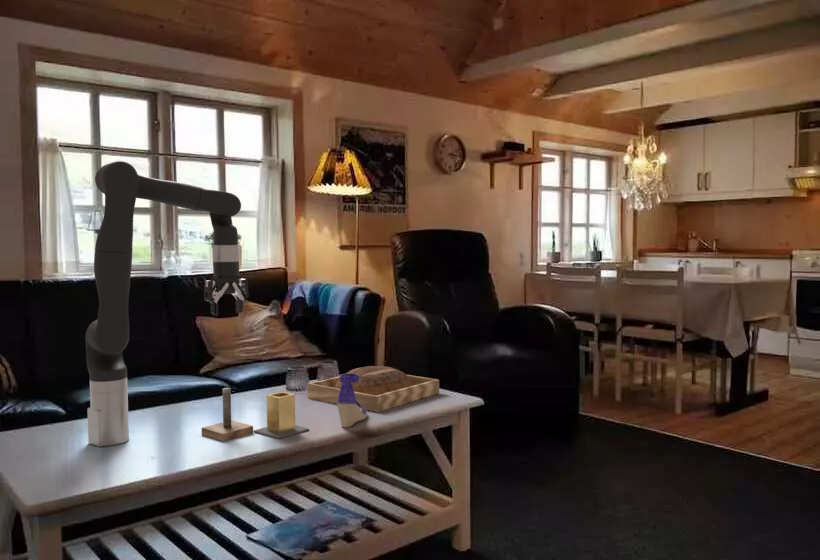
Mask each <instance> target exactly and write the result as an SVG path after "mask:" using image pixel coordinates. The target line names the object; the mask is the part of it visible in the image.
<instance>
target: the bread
mask: <svg viewBox="0 0 820 560" xmlns="http://www.w3.org/2000/svg"><path fill="white" fill-rule="evenodd" d="M344 374H357V375H358V374H359V380H358V382H357V383H355V382H353V383H351V384H352V387H353V390H354V392H359V393H365V394H370V395H375V396H377V395H380V394H384V393H388V392H392V391H395V390H399V389H403V388H407V387H410V386H412V383H411V380H410V378H409V377H408V376H407V375H408V374H406V373H405V372H404V371H401V370H400V369H398V368H395V367H391V366H384V365H378V366H377V365H376V366H375V365H367V366H363V367H358V368H353V369H351V370H349V371H347V372H345V373H344ZM341 384H342V382H340V379H339V380H338V382H337V383H336V386H335V388H338V389H340V388H341Z"/></svg>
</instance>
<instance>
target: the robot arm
mask: <svg viewBox="0 0 820 560" xmlns="http://www.w3.org/2000/svg"><path fill="white" fill-rule="evenodd" d="M94 184H95V186H96V187H97V189H98V190H99V191H100V192H101V193H102V194H104V211H103V212H104V213H103V216H102V222H101V225H100V227H99V230H98V233H97V237H96V241H95V245H94V246H95V247H94V260H93V269H94V270H93V273H94V279H95V285H96V290H97V295H98V311H97V319H96V320H94V321H92V322H91V323H90V324H89V325H88V327H87V329H86V332H85V354H86V355H85V357H86V367H87V370H88V374H89V400H90V402H89V403H90V407H88V408H87V409H86V410H87V411H86V412H87V435H88V436H87V437H88V438H87V439H88V444H90V445H93V446H95V447H99V448H100V447H107V446H115V445H121V444H123V443H126V442H127V441H129V440H130V434H129V433H130V431H129V430H130V429H129V428H130V427H129V399H128V397H129V396H128V395H129V393H128V390H129V389H128V367H127V365H126V364H125V361H124V359H123V358H124V356H123V351H124V350H125V349H126V348H127V346H128V344H129V342H130V341H129V340H130V333H131V332H130V318H129V317H130V316H129V297H130V290H131V289H130V288H131V277H132V276H131V275H132V274H131V273H132V264H133V263H132V262H133V242H134V240H133V239H134V216H135V215H134V212H135V206H136V200H137V199H141V200H142V199H143V200H146V201H147V200H148V201H152V202H153V201H154V202H158V203H161V204H165V205H170V206H172V207H173V206H174V207H178V208H181V209H187V210H190V211H196V212H208V213H209V218H210V221H211V222H210V223H211V226H212V230H213V251H212V259H213V260H212V262H213V264H212V265H213V266H212V267H213V269H212V270H213V277H214V279H213V280H204V289H203V290H204V292H203V299H204V301H205V302H206V301H207V302H209V304H210V313H211V315H212V316H218V315H219V303H218V301H219V300H220V298H221V297H223V295H228V294H229V295H232V296H233V297H234V298H235V313H236V314H242V313H243V311H244V300H245V299H248V298H249V297H250V295H249V294H250V293H249V281H248V280H249V279H248V278H240V279H239V275H240V251H239V250H240V249H239V240H238V239H239V237H238V234H239V233H238V229H237V227H236V226H234V225H233V218H232V217H234V216H237V215H238V214H239V212H240V211H241V209H242V202H241V200H240V198H239V197H238V196H237V195H236V194H234V193H231V192H228V191H222V190H216V189H208V188H204V187H201V186H197V185H194V184H193V185H192V184H189V183H185V182H179V181H173V180H167V179H165V180H163V179H157V178H152V177H148V176H143V175H140V174H138V172H137V170H136V168H135V167H134V165H132V164H131V163H129V162H127V161H122V160H117V161H112V162H110V163H107V164H104V165H103V166H101V167H100V168H98V170H97V171H96V173H95V176H94ZM213 288H214V289H213Z"/></svg>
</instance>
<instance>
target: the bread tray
mask: <svg viewBox="0 0 820 560" xmlns="http://www.w3.org/2000/svg"><path fill="white" fill-rule="evenodd" d="M406 375H407V376H408V377H409V378H410V380H411V383H412V386H410V387H407V388H403V389H399V390H395V391H392V392H388V393H384V394H380V395H377V396H375V395H370V394H365V393H359V392H354V393H355V397H356V400H357V401H358V402H359V404H360V405H361V407H363V408H364V409H366V411H368V410H370V411H369V412H372V411H374V412H373V413H378V411H379V412H382V410H383V411H385V409H386V410H389V409H388V408H390V409H392V408H391V407H393V408H395V406H396V407H398V405H400V406H402V405H401V404H403V405H406V404H409V403H408V402H410V403H413V402H416V401H419V400H418V399H420V400H422V399H421V398H423V399H426V398H425V397H427V398H429V397H428V396H430V397H432V396H431V395H433V396H436V395H435V394H437V395H439V394H440V379H437V378H431V377H424V376H416V375H411V374H406ZM339 379H340V376H336V377H335V376H334V377H330V378H327V379H323V380H318V381H313V382H308V383H307V385H306V386H307V388H306V390H307V391H306V392H307V399H309V400H310V399H311V400H315V401H319V402H324V403H325V402H326V403H329V402H330V403H329V404H334V403H335V405H337V401H338V396H339V392H340V389H338V388H335V386H336V383H337V382H338V380H339ZM438 393H439V394H438ZM415 400H416V401H415ZM412 401H413V402H412ZM405 403H406V404H405ZM361 407H359V408H361Z"/></svg>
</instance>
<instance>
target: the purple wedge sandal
mask: <svg viewBox="0 0 820 560" xmlns="http://www.w3.org/2000/svg"><path fill="white" fill-rule="evenodd" d="M339 377H340V382H342V384H341V388H340V392H339V396H338V401H337V404H336V405H337V408H338V414H339V418H340V425H341V429H343V428H348V429H350V428H349V427H351V426H352V425H353V426H354V425H355V424H356V423H357V424H358V423H359V422H361V421H364V420H366V419H367V415H368V410H365V409H364V408H363V407H361V405H360V404H359V402H358V401H357V400H356V397H355V393H354V390H353V387H352V384H351V383H353V382H355V383H357V382H358V380H359V374H358V375H357V374H345V373H343V374H340V375H339ZM359 407H361V408H359ZM353 426H352V427H353ZM352 427H351V428H352Z"/></svg>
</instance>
